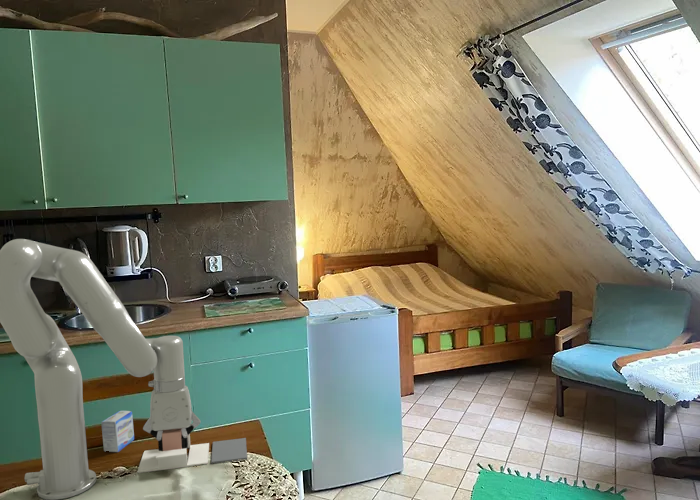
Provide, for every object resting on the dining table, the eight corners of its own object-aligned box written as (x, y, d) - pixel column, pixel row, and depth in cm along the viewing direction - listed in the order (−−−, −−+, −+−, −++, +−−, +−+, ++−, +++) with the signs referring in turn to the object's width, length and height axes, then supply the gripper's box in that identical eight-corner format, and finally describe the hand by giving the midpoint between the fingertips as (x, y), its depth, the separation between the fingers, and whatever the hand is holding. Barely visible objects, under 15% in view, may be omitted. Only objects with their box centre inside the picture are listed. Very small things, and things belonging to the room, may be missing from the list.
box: (163, 464, 141) (161, 434, 141) (166, 453, 147) (164, 424, 146) (181, 461, 142) (180, 432, 141) (183, 451, 148) (182, 422, 147)
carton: (135, 477, 135) (134, 460, 135) (145, 448, 151) (144, 432, 151) (207, 468, 139) (206, 451, 138) (209, 440, 155) (208, 425, 154)
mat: (211, 463, 141) (211, 462, 141) (212, 443, 153) (212, 441, 153) (247, 459, 143) (247, 457, 143) (245, 439, 155) (245, 437, 154)
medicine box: (117, 453, 149) (115, 422, 148) (103, 451, 150) (100, 421, 149) (134, 440, 157) (132, 410, 156) (120, 439, 157) (118, 409, 157)
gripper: (132, 392, 137) (137, 462, 139) (202, 385, 141) (206, 454, 143) (137, 382, 145) (141, 449, 146) (204, 376, 148) (207, 441, 150)
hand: (173, 451), depth 144 cm, fingers closed on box, 4 cm apart
